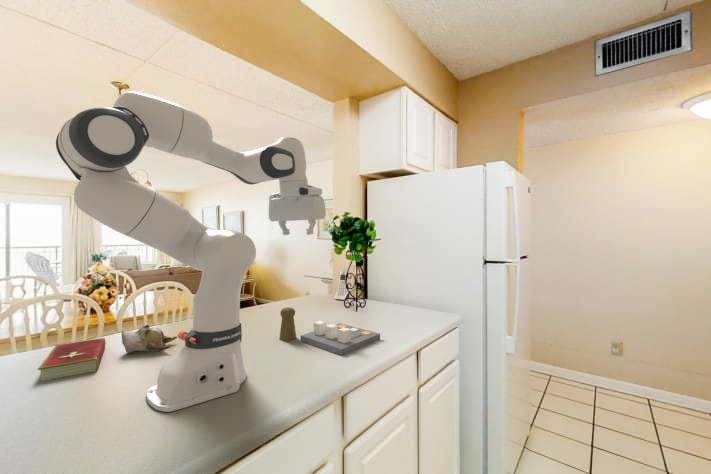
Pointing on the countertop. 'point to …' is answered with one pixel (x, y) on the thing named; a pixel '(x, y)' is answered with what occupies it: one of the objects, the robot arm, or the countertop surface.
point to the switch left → (319, 328)
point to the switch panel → (357, 341)
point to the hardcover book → (72, 359)
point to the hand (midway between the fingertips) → (298, 234)
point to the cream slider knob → (344, 335)
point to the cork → (287, 324)
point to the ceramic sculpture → (145, 340)
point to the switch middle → (331, 331)
